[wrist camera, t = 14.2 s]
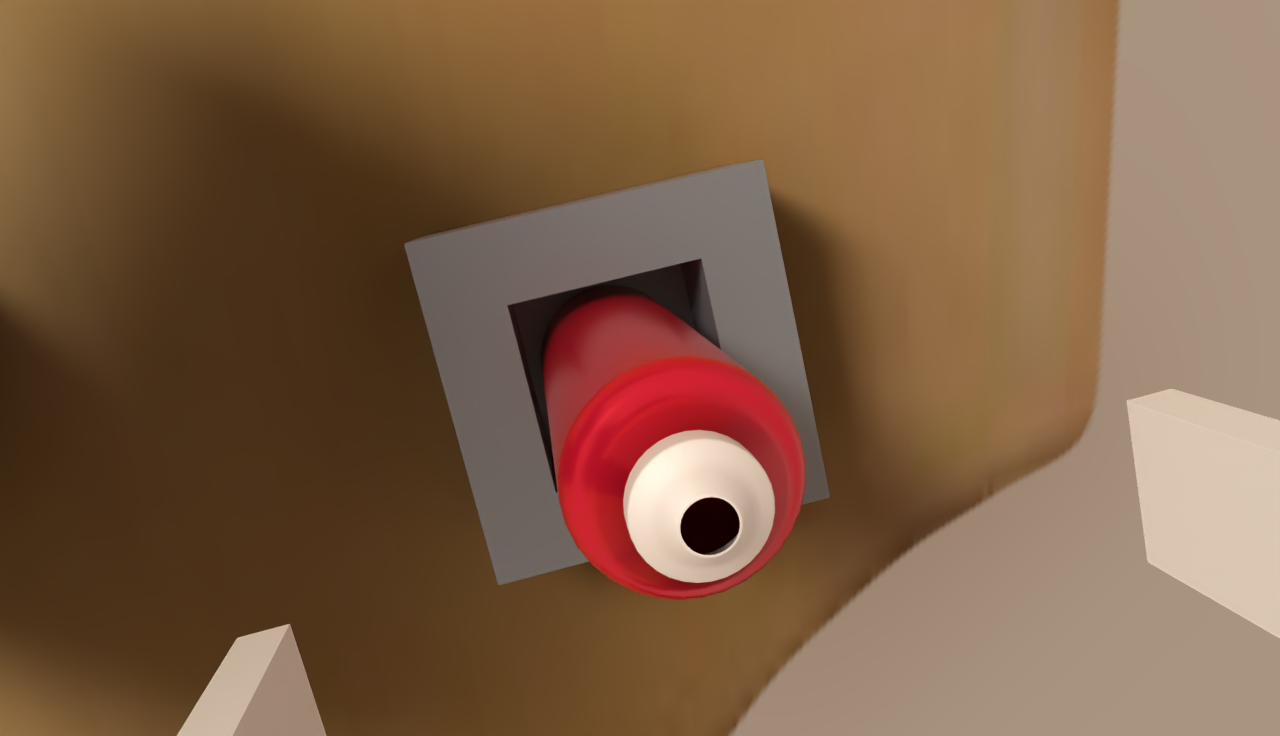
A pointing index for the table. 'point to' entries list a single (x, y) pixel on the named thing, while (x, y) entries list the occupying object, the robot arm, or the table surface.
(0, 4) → the table surface
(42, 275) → the table surface
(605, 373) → the bottle
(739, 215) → the holder
